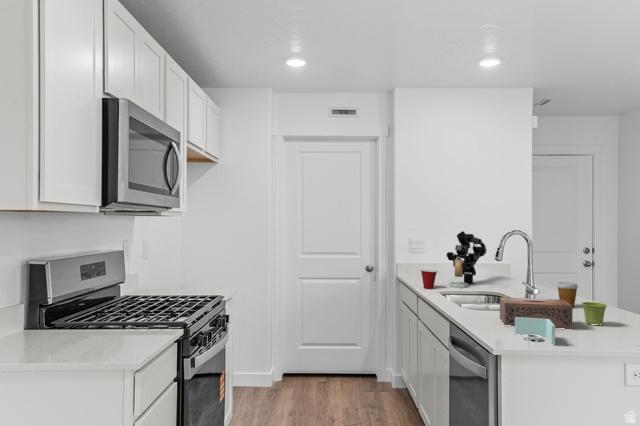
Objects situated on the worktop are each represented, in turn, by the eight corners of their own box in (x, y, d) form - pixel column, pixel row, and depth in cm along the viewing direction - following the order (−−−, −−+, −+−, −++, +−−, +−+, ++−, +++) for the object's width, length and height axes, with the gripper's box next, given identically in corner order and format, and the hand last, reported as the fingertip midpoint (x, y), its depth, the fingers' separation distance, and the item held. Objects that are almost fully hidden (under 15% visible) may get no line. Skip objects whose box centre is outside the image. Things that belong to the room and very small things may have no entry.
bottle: (457, 275, 313) (457, 256, 313) (464, 276, 309) (464, 256, 309) (453, 276, 309) (453, 256, 309) (460, 277, 305) (459, 257, 305)
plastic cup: (439, 289, 295) (439, 270, 295) (422, 289, 295) (422, 270, 295) (435, 287, 306) (435, 268, 306) (418, 287, 306) (418, 268, 306)
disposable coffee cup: (577, 306, 242) (577, 282, 242) (578, 309, 233) (578, 285, 233) (556, 304, 246) (556, 281, 246) (557, 307, 237) (557, 284, 237)
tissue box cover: (562, 322, 204) (562, 299, 204) (572, 330, 190) (572, 305, 190) (499, 319, 210) (499, 297, 210) (504, 326, 196) (504, 302, 196)
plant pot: (607, 328, 194) (606, 306, 194) (580, 325, 199) (580, 304, 199) (607, 323, 202) (607, 303, 202) (582, 321, 207) (582, 301, 207)
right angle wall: (515, 336, 181) (515, 317, 181) (549, 339, 178) (549, 319, 178) (518, 344, 170) (518, 323, 170) (555, 347, 166) (554, 326, 166)
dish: (455, 284, 317) (455, 281, 317) (470, 286, 308) (470, 283, 309) (446, 286, 309) (446, 283, 309) (461, 288, 301) (461, 284, 301)
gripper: (447, 240, 318) (440, 257, 309) (474, 241, 306) (468, 259, 298) (452, 251, 324) (445, 268, 315) (479, 252, 313) (473, 270, 304)
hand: (457, 266), depth 308 cm, fingers closed on bottle, 5 cm apart
